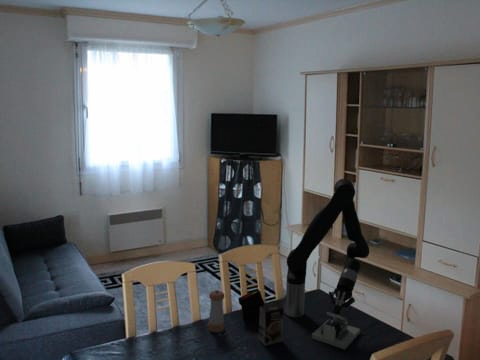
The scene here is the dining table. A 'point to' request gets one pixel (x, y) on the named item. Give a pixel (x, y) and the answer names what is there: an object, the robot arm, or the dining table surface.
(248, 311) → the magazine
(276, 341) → the coffee box
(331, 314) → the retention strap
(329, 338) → the grey square stand
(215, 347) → the dining table surface
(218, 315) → the pepper shaker
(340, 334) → the heat sink
